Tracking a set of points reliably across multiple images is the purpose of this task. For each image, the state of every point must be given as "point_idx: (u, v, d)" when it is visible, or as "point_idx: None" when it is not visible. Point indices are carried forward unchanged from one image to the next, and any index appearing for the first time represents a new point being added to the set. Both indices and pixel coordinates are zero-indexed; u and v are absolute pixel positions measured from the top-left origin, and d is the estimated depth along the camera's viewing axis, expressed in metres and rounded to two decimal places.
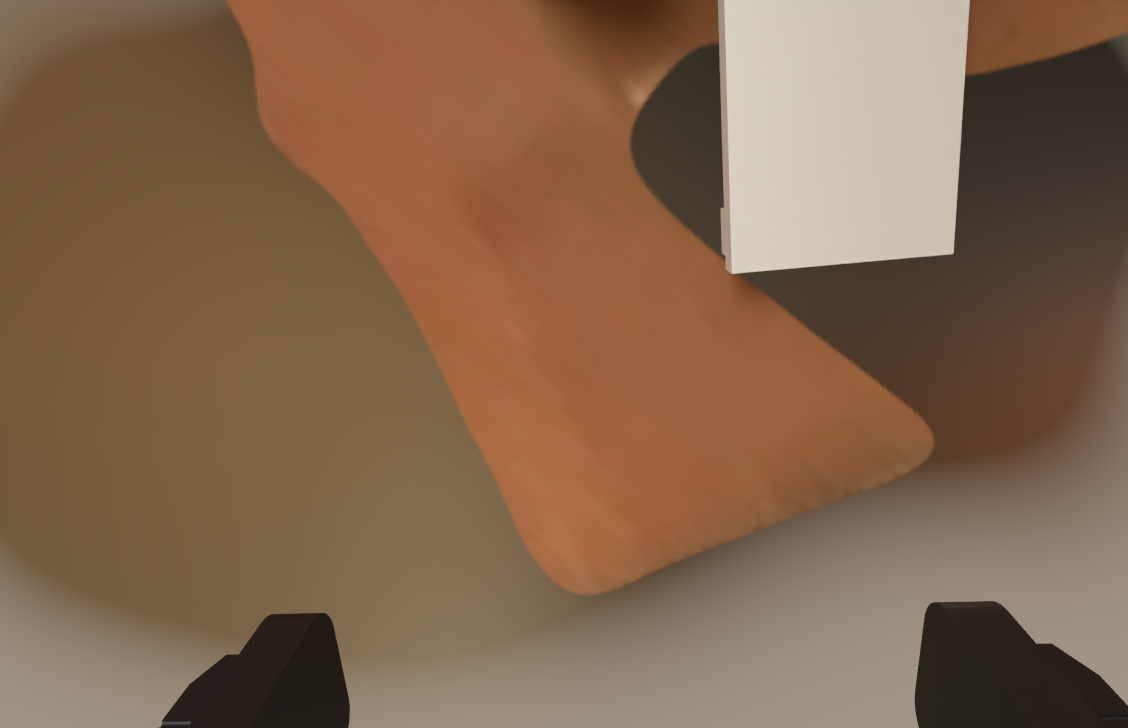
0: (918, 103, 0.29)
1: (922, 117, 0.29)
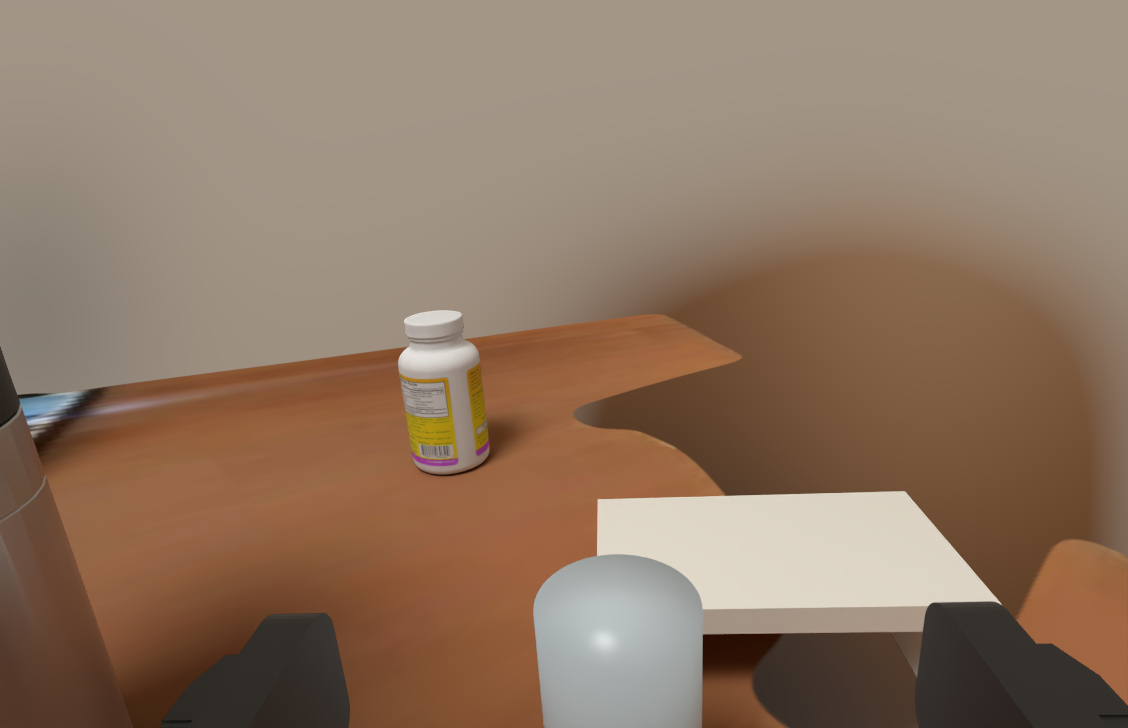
0: (798, 511, 0.38)
1: (807, 509, 0.38)
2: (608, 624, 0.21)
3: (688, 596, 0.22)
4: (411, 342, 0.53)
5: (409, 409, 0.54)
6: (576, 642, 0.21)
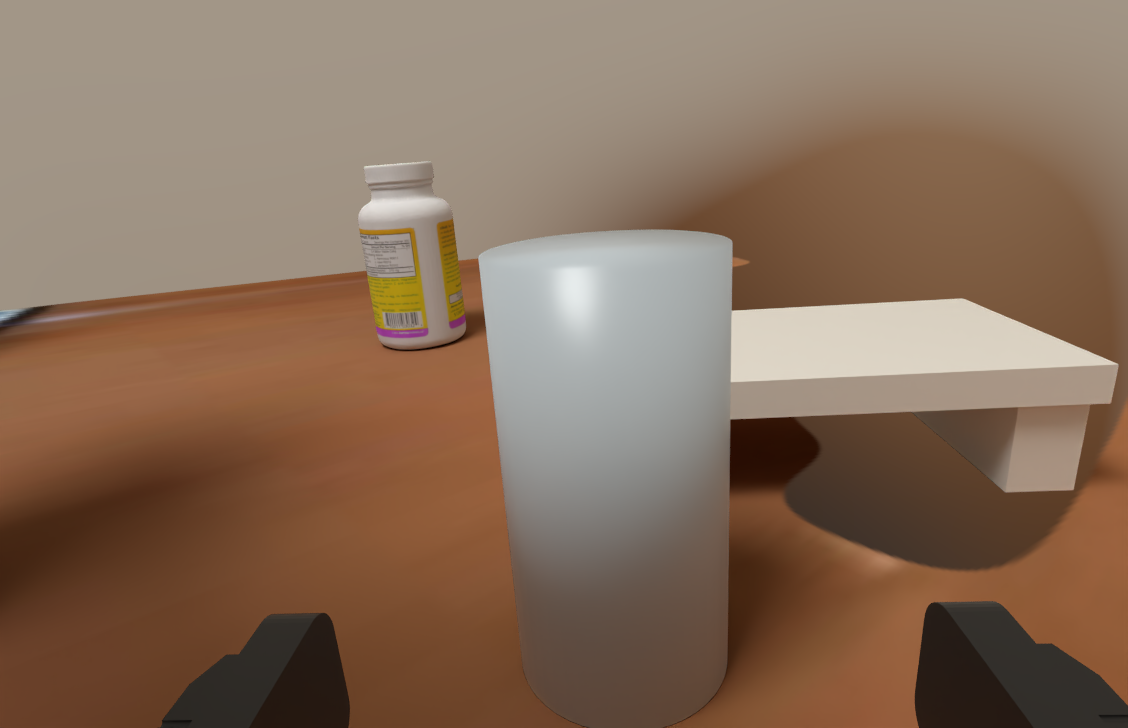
0: (834, 315, 0.30)
1: (845, 313, 0.30)
2: (588, 254, 0.14)
3: (709, 238, 0.15)
4: (372, 191, 0.46)
5: (371, 271, 0.47)
6: (540, 263, 0.13)
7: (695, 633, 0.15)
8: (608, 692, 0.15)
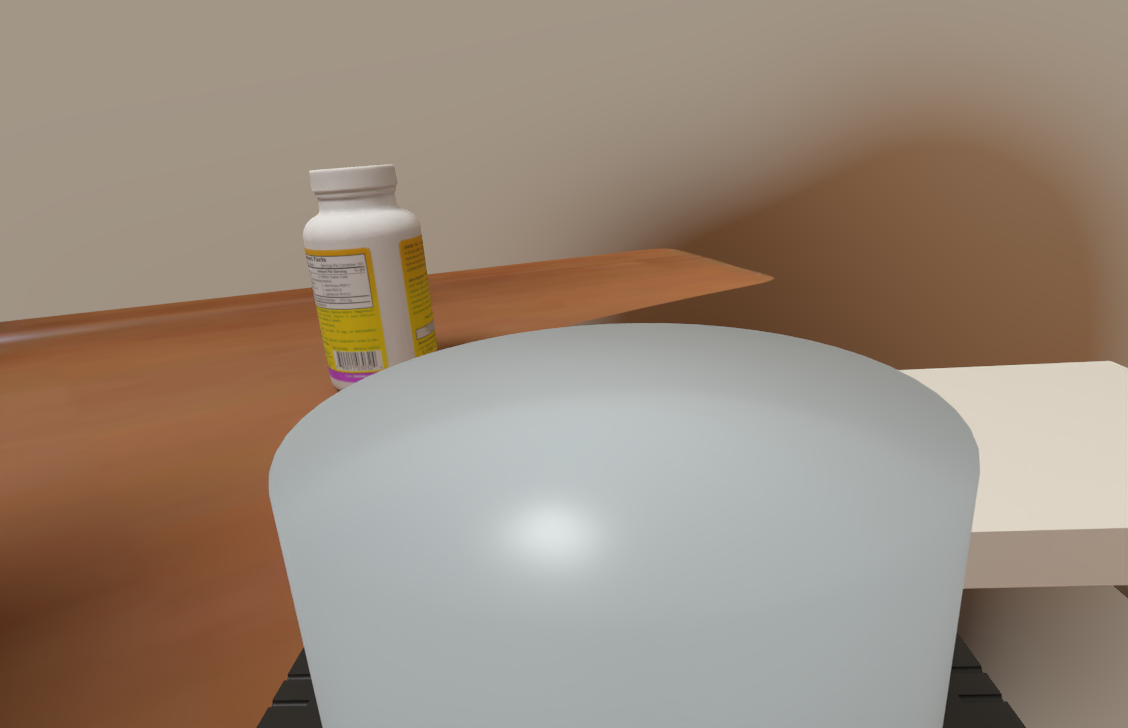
0: (935, 388, 0.21)
1: (950, 385, 0.21)
2: (568, 456, 0.05)
3: (874, 381, 0.06)
4: (319, 201, 0.37)
5: (318, 300, 0.38)
6: (410, 515, 0.04)
7: None
8: None
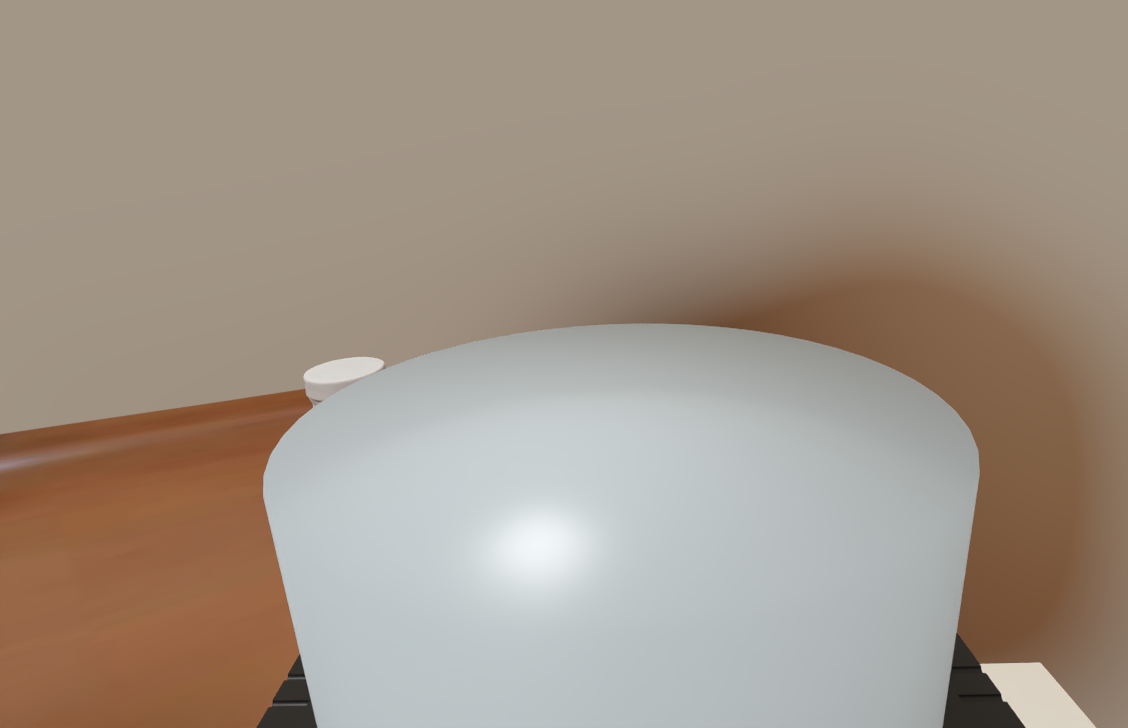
0: None
1: None
2: (565, 459, 0.05)
3: (873, 382, 0.06)
4: (313, 404, 0.39)
5: None
6: (406, 518, 0.04)
7: None
8: None
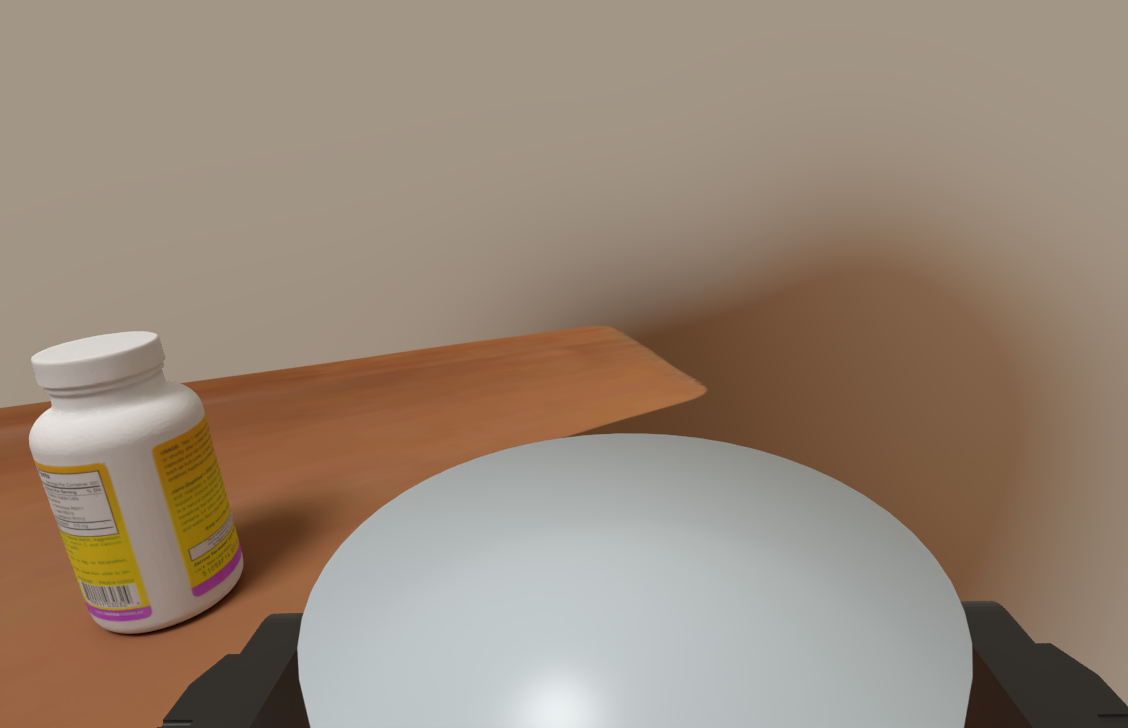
0: None
1: None
2: (580, 636, 0.05)
3: (873, 536, 0.06)
4: (49, 393, 0.28)
5: (55, 517, 0.29)
6: (436, 718, 0.05)
7: None
8: None
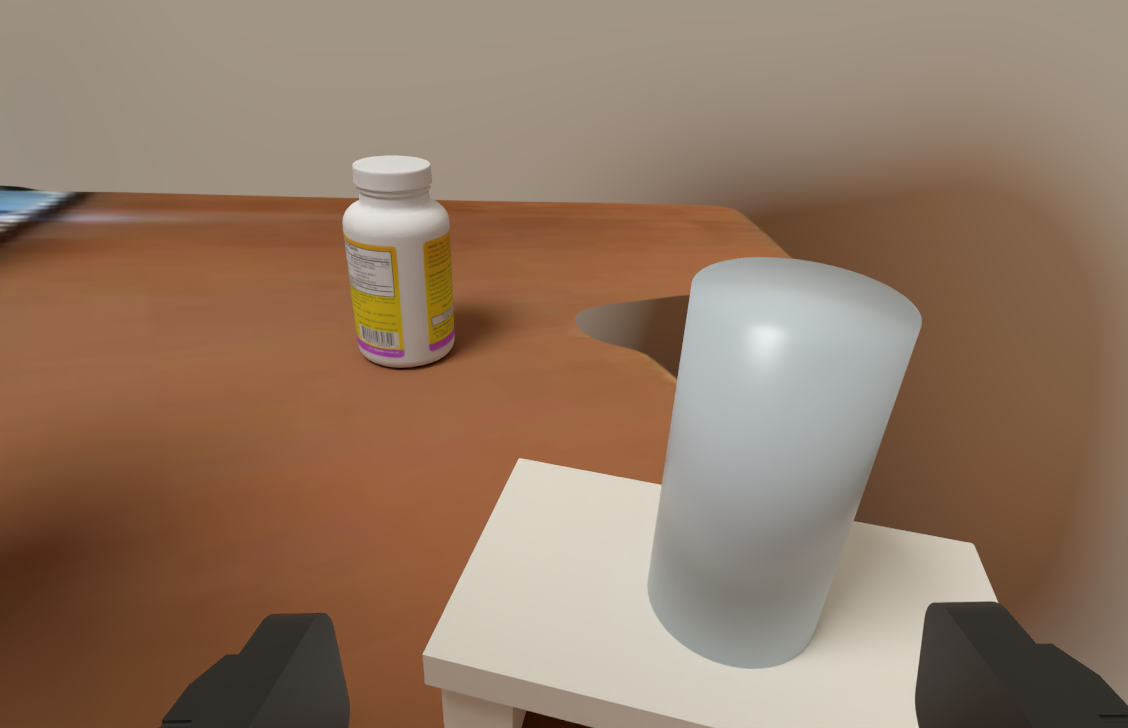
0: None
1: None
2: (790, 310, 0.16)
3: (900, 305, 0.17)
4: (359, 193, 0.41)
5: (350, 279, 0.42)
6: (749, 318, 0.16)
7: (800, 611, 0.19)
8: (720, 636, 0.20)
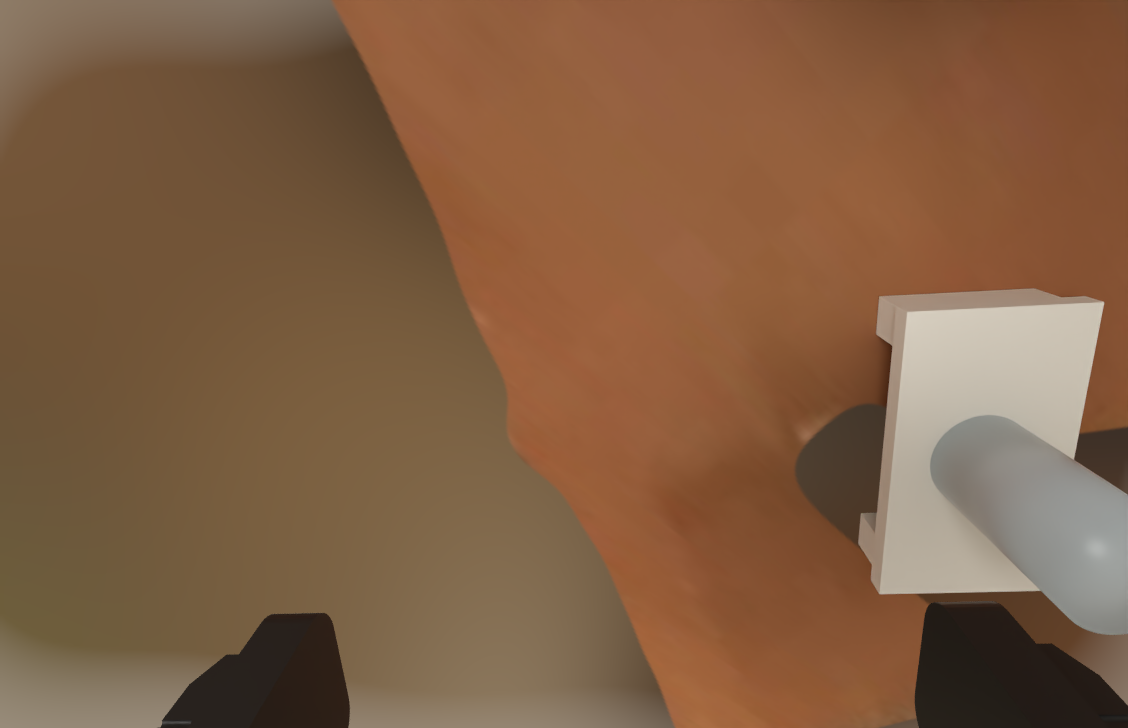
0: None
1: None
2: (1106, 572, 0.27)
3: (1123, 627, 0.28)
4: None
5: None
6: (1091, 552, 0.27)
7: (957, 507, 0.36)
8: (942, 464, 0.37)
